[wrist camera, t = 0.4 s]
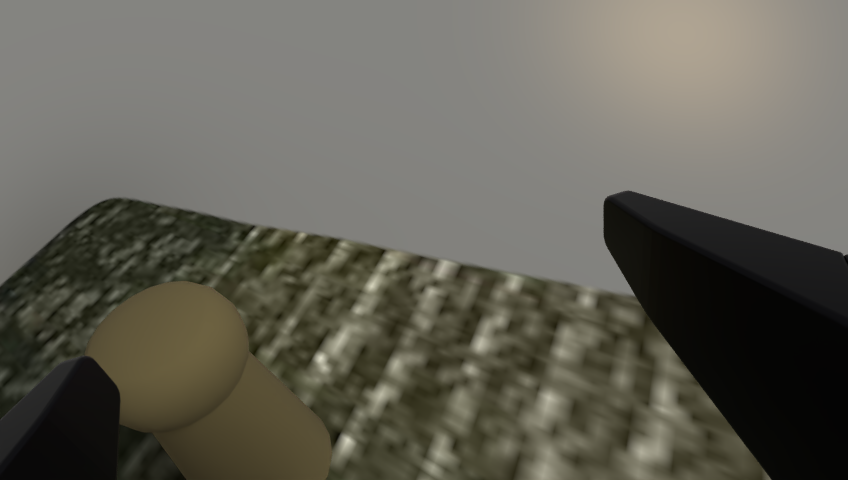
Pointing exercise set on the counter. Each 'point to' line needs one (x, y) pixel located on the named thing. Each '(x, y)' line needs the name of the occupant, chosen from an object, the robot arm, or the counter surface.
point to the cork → (206, 389)
